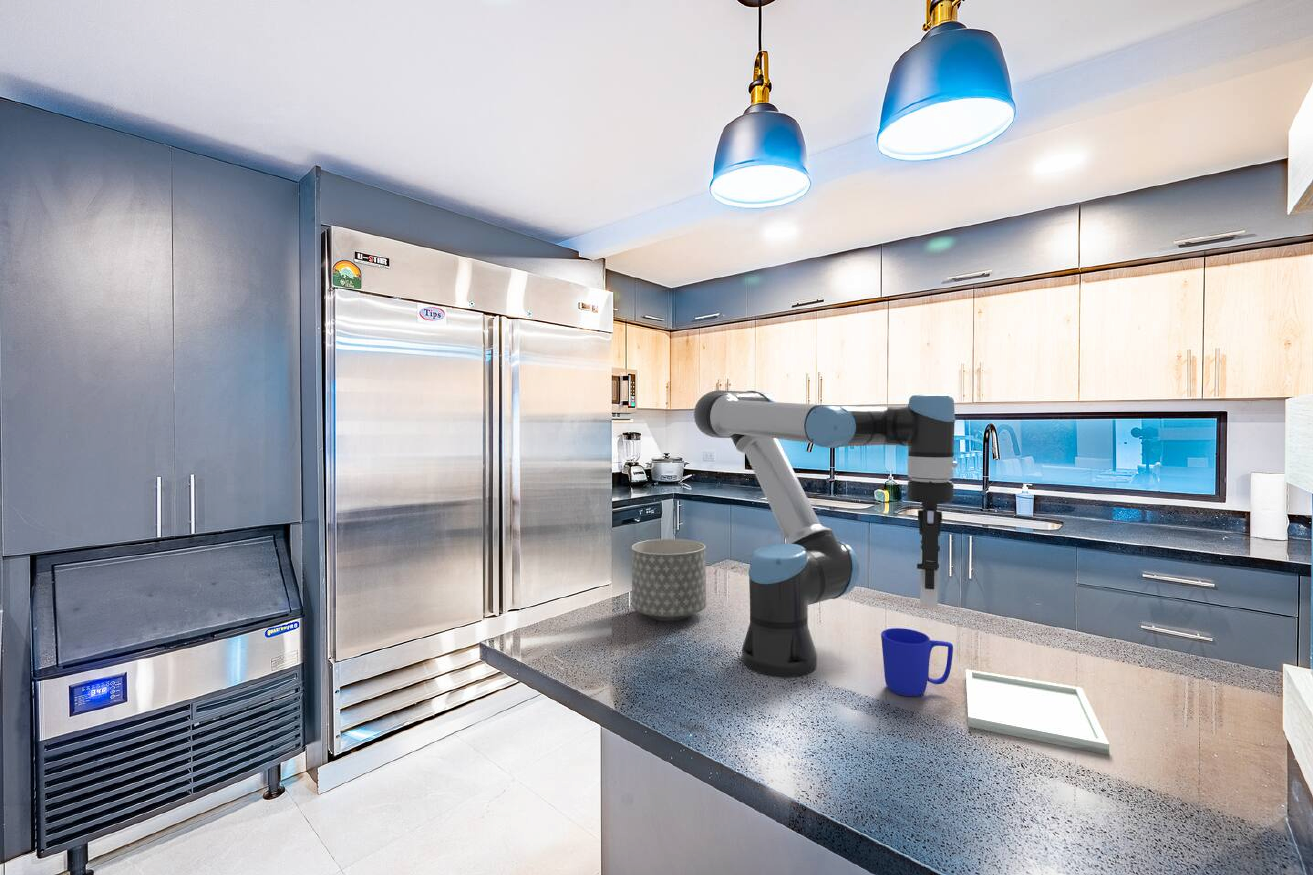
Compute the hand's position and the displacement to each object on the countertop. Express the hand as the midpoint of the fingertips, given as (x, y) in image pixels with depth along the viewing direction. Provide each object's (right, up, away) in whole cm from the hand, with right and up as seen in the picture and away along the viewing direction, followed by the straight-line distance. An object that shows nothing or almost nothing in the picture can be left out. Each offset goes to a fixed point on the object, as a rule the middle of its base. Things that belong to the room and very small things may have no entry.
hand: (928, 595), depth 104 cm
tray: (+13, -17, -8) cm, 23 cm away
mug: (-2, -17, -1) cm, 18 cm away
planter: (-47, -17, +42) cm, 65 cm away
